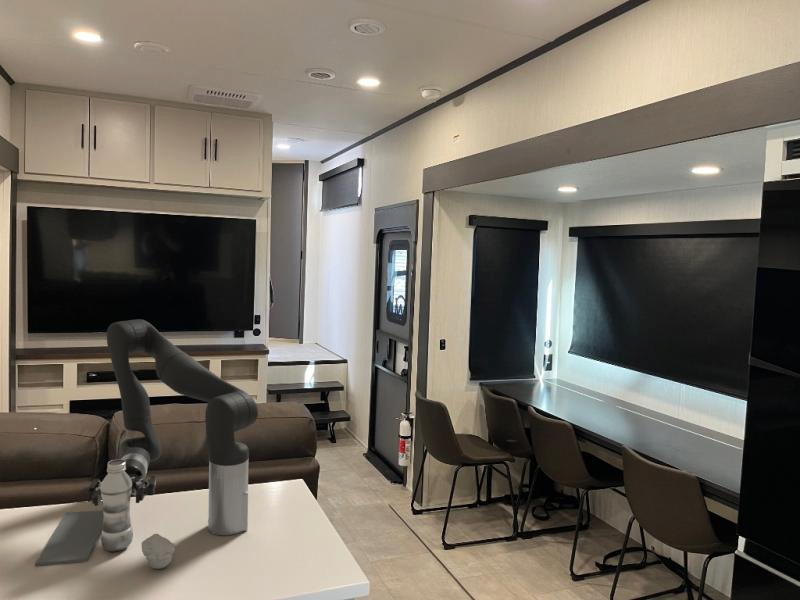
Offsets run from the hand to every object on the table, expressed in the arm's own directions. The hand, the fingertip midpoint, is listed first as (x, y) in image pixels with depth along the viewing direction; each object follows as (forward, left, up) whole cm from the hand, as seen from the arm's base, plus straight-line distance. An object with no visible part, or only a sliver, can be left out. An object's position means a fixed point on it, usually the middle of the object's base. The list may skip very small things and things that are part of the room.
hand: (116, 500), depth 135 cm
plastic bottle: (0, 0, -11) cm, 11 cm away
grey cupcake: (-10, +10, -11) cm, 18 cm away
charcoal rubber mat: (+10, -7, -11) cm, 16 cm away
